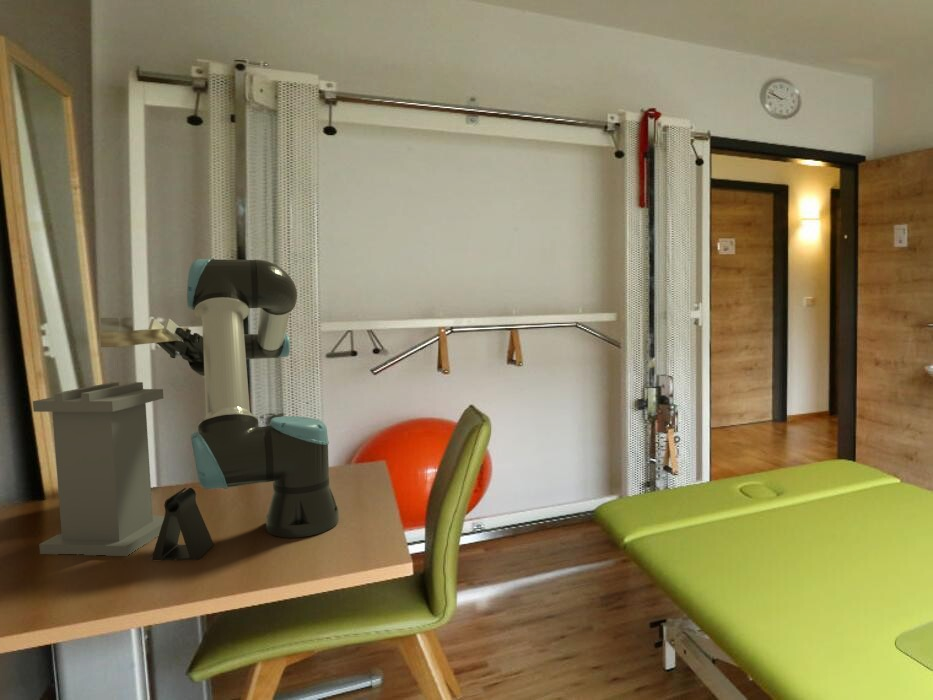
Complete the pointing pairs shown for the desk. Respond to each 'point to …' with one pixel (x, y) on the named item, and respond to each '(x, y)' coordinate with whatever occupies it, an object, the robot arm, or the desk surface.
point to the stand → (102, 469)
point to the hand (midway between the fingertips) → (159, 323)
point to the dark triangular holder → (182, 529)
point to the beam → (130, 333)
